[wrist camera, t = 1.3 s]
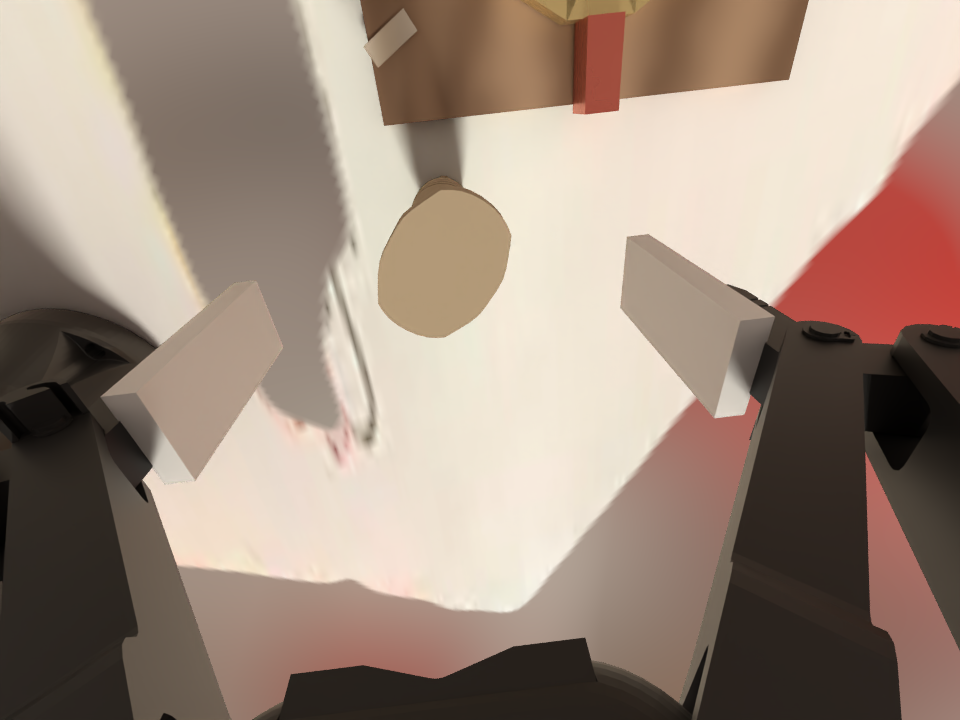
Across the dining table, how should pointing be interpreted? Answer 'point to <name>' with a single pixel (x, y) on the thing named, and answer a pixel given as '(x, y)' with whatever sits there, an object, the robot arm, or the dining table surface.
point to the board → (564, 52)
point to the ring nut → (593, 47)
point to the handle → (443, 260)
